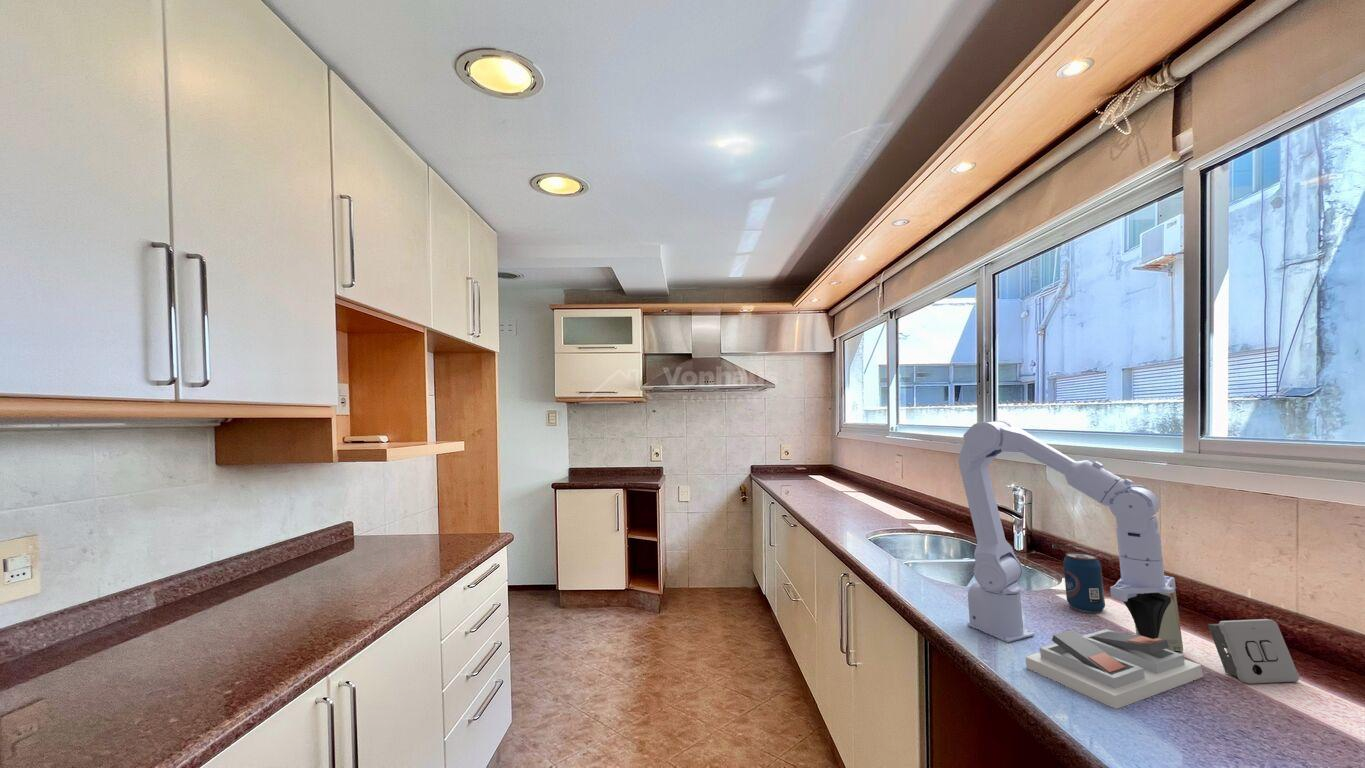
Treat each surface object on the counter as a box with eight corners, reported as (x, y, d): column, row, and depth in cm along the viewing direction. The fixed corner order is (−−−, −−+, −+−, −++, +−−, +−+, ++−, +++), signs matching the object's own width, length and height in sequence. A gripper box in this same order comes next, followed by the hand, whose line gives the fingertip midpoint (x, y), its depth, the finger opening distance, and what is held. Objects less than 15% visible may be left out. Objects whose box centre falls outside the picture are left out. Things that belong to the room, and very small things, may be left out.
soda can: (1060, 602, 119) (1055, 551, 120) (1092, 602, 118) (1087, 551, 119) (1079, 614, 112) (1074, 559, 113) (1113, 614, 111) (1108, 559, 112)
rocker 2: (1094, 643, 92) (1092, 635, 93) (1111, 638, 94) (1109, 630, 94) (1151, 653, 84) (1148, 644, 85) (1169, 647, 86) (1166, 638, 86)
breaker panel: (1026, 668, 90) (1024, 647, 90) (1108, 643, 98) (1106, 624, 98) (1116, 709, 77) (1113, 684, 77) (1202, 677, 85) (1200, 655, 85)
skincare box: (1184, 652, 93) (1177, 585, 94) (1157, 651, 94) (1150, 584, 95) (1159, 637, 99) (1152, 574, 100) (1134, 636, 100) (1128, 574, 101)
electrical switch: (1245, 685, 82) (1233, 625, 83) (1212, 673, 87) (1201, 616, 88) (1302, 683, 82) (1288, 623, 83) (1265, 670, 87) (1253, 614, 88)
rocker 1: (1051, 640, 89) (1053, 634, 89) (1070, 635, 91) (1072, 629, 90) (1107, 680, 81) (1109, 674, 80) (1127, 674, 82) (1129, 667, 82)
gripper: (1141, 568, 81) (1151, 654, 80) (1193, 556, 86) (1203, 637, 85) (1093, 557, 88) (1101, 637, 87) (1144, 547, 93) (1152, 622, 92)
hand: (1148, 636), depth 87 cm, fingers closed
